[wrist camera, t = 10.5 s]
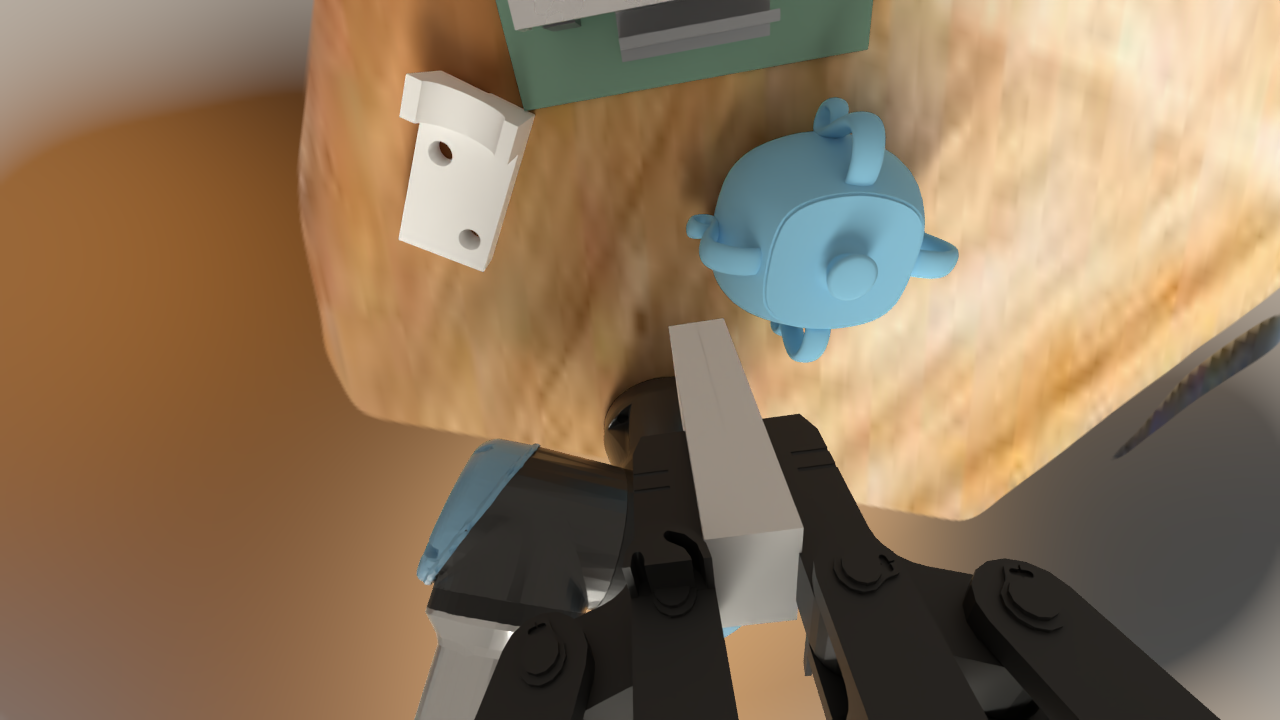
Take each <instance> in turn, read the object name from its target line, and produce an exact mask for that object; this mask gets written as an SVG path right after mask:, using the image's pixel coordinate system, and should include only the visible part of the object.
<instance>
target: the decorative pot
mask: <svg viewBox="0 0 1280 720" xmlns="http://www.w3.org/2000/svg"><path fill="white" fill-rule="evenodd" d="M848 112H849V106H848V103H847V102H846V101H845V100H844V99H841V98H838V97H834V98H829V99H827V100H825V101H824V102H823V103H822V104H821V105H820V107H819V109H818V111H817V113H816V116H815V119H814V124H813V131H810V132H803V133H796V134H792V135H788V136H784V137H781V138H778V139H775V140H772V141H769V142H766V143H764V144H762V145H760V146H758V147H755V148H754V149H752V150H751V151H749V152H748V153H746V154H745V155H743V156H742V157H741V158H740V159H739V160H738V161H737V162H736V163H735V164H734V166H733V167H732V168H731V170H730V171H729V173H728V175H727V176H726V178H725V180H724V182H723V185H722V188H721V191H720V194H719V197H718V201H717V205H716V209H715V213H714V216H712V215H708V214H698V215H694V216H692V217H691V218H690V219H689V221H688V223H687V226H686V232H687V235H688V237H689V238H693V239H701V241H700V246H699V255H700V259H701V261H702V263H703V264H704V265H705V266H707V267H708V268H710V269H712V270H713V273H714V276H715V279H716V281H717V283H718V284H719V286H720V288H721V289H722V291H723V292H724V293H725V294H726V295H727V296H728V297H729V298H730V300H732V301H733V302H734V303H735V304H736V305H738V306H739V307H741V308H742V309H744V310H745V311H747V312H749V313H751V314H753V315H755V316H758V317H760V318H763V319H766V320H770V321H771V329H772V330H773V332H774V333H776V334H777V335H780V336H782V338H783V342H784V345H785V348H786V351H787V353H788V355H789V357H790V358H792V359H793V360H795V361H797V362H812V361H815V360H817V359H818V358H819V357H820V356H821V355H822V354H823V352H824V351H825V349H826V346H827V344H828V341H829V337H830V332H831V329H835V328H844V327H851V326H856V325H860V324H864V323H867V322H870V321H873V320H875V319H877V318H879V317H881V316H882V315H884V314H886V313H887V312H888V311H889V310H890V309H892V307H893V306H894V305H895V304H896V303H897V301H898V300H899V298H900V296H901V295H902V293H903V291H904V289H905V287H906V285H907V283H908V281H909V278H910V276H912V277H918V278H930V279H933V278H941V277H944V276H946V275H948V274H949V273H950V272H951V271H952V269H953V268H954V267H955V265H956V263H957V260H958V256H959V254H958V249H957V248H956V247H955V246H953V245H952V244H950V243H948V242H946V241H944V240H942V239H939V238H937V237H934V236H932V235H929V234H927V233H925V231H924V227H925V215H924V206H923V200H922V197H921V193H920V190H919V186H918V184H917V182H916V181H915V179H914V177H913V175H912V173H911V172H910V170H909V169H908V168H907V167H906V166H905V165H904V164H903V163H902V162H901V161H900V160H899V159H898V158H897V157H896V156H895V155H894V154H892V153H891V152H889V151H887V150H886V149H885V129H884V125H883V122H882V120H881V119H880V118H879V117H878V116H877V115H875V114H873V113H870V112H864V111H860V112H853V113H849V114H848ZM850 133H852V135H851V134H850ZM803 328H805V333H804V332H803Z"/></svg>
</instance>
